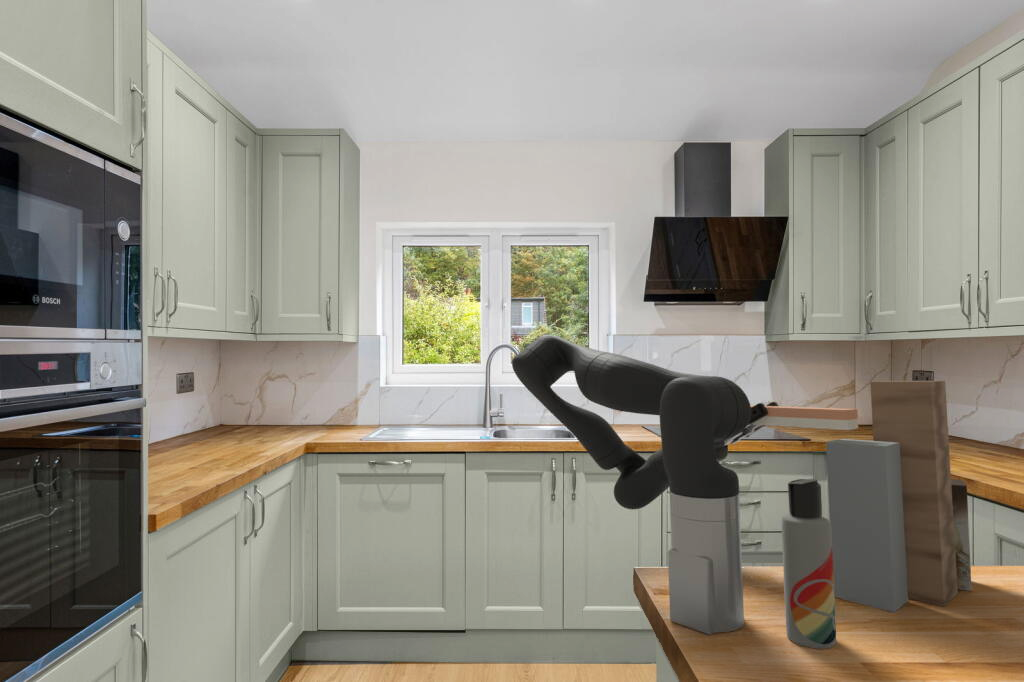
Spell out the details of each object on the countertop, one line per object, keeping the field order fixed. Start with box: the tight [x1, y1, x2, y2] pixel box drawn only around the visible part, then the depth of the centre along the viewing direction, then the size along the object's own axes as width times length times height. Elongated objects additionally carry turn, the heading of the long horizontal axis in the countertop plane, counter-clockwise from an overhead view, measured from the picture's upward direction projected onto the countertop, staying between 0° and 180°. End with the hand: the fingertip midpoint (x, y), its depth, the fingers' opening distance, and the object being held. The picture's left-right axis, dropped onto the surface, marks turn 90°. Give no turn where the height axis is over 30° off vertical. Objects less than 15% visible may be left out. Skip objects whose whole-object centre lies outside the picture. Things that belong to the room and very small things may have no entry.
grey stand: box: [825, 438, 909, 613], centre depth 88 cm, size 6×8×23 cm
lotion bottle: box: [781, 478, 837, 650], centre depth 75 cm, size 6×6×20 cm
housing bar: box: [748, 404, 859, 431], centre depth 97 cm, size 4×19×3 cm, turn 40°
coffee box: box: [951, 478, 973, 592], centre depth 95 cm, size 9×6×16 cm
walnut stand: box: [869, 380, 959, 607], centre depth 90 cm, size 7×8×32 cm
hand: (771, 407), depth 99 cm, fingers closed on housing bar, 4 cm apart
